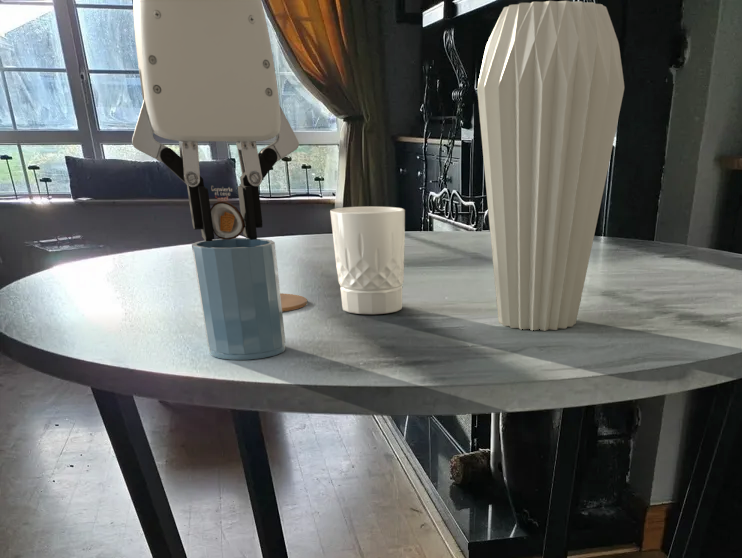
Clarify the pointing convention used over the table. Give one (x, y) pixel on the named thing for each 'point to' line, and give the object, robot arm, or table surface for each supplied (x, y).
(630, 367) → the table surface
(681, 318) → the table surface
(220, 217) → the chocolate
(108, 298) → the table surface
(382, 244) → the white cup
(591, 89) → the vase
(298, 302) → the cork coaster
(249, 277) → the tumbler
